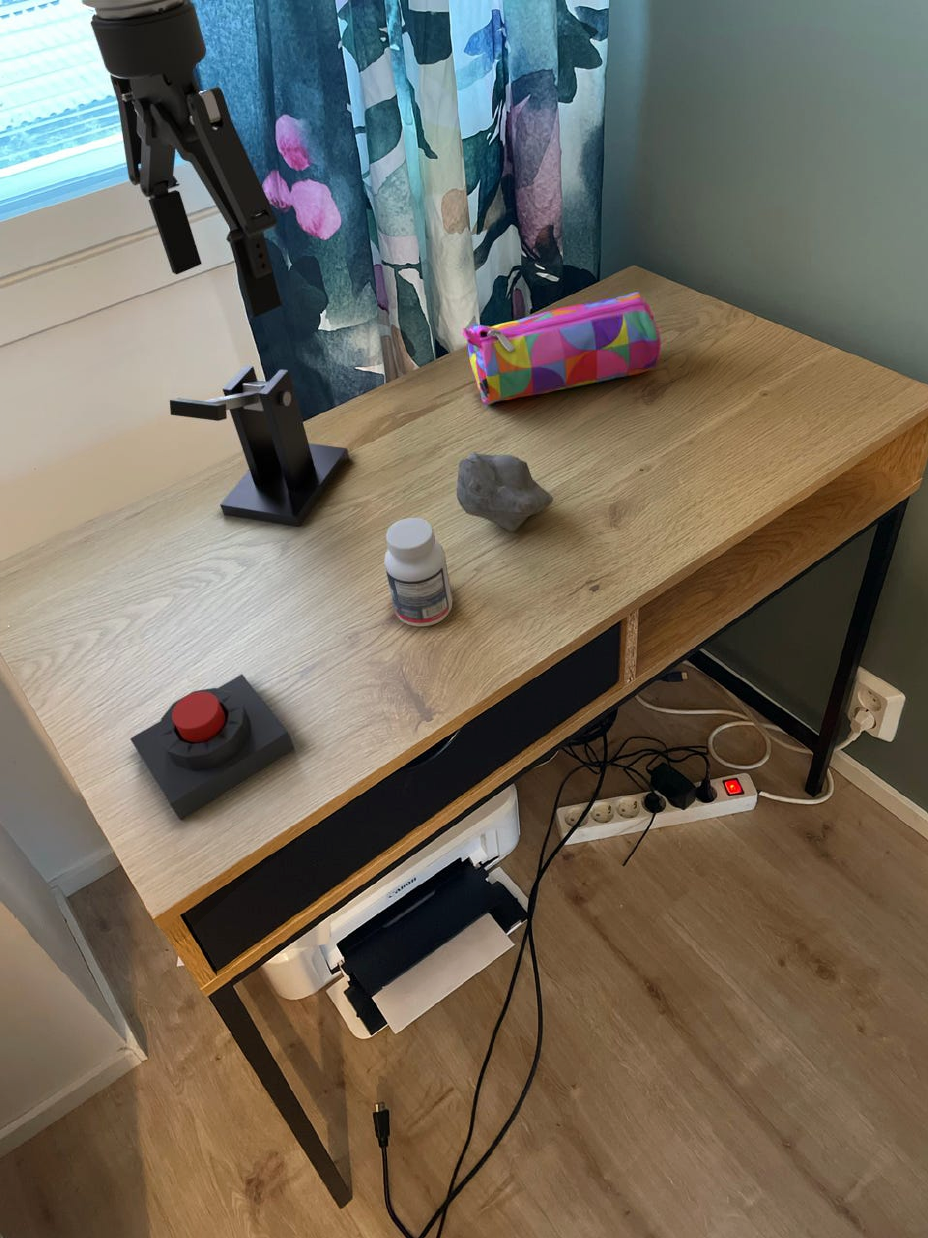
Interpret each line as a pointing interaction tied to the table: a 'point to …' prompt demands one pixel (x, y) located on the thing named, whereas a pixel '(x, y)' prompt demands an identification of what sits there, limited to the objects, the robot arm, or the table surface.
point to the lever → (219, 403)
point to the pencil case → (564, 348)
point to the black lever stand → (278, 456)
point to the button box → (213, 749)
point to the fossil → (499, 489)
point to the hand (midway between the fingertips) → (224, 288)
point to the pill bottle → (417, 573)
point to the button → (198, 717)
